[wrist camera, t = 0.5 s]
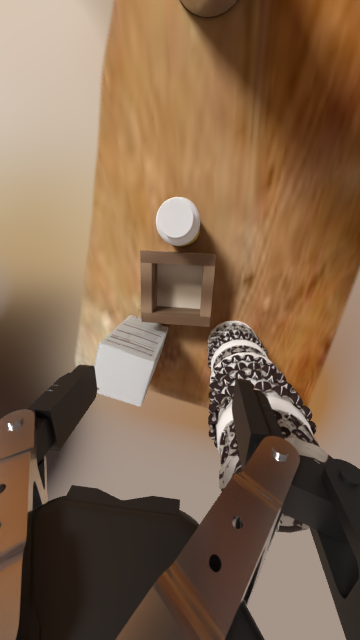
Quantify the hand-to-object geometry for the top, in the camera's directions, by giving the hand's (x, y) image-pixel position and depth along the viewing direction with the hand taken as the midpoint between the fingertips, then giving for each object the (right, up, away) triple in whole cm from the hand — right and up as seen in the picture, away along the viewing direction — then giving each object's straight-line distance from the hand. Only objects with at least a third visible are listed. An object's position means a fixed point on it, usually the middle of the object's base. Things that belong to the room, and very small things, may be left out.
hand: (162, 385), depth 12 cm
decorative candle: (+10, 0, +25) cm, 27 cm away
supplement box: (-5, +1, +27) cm, 27 cm away
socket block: (+1, +9, +23) cm, 25 cm away
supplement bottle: (+1, +18, +20) cm, 27 cm away
